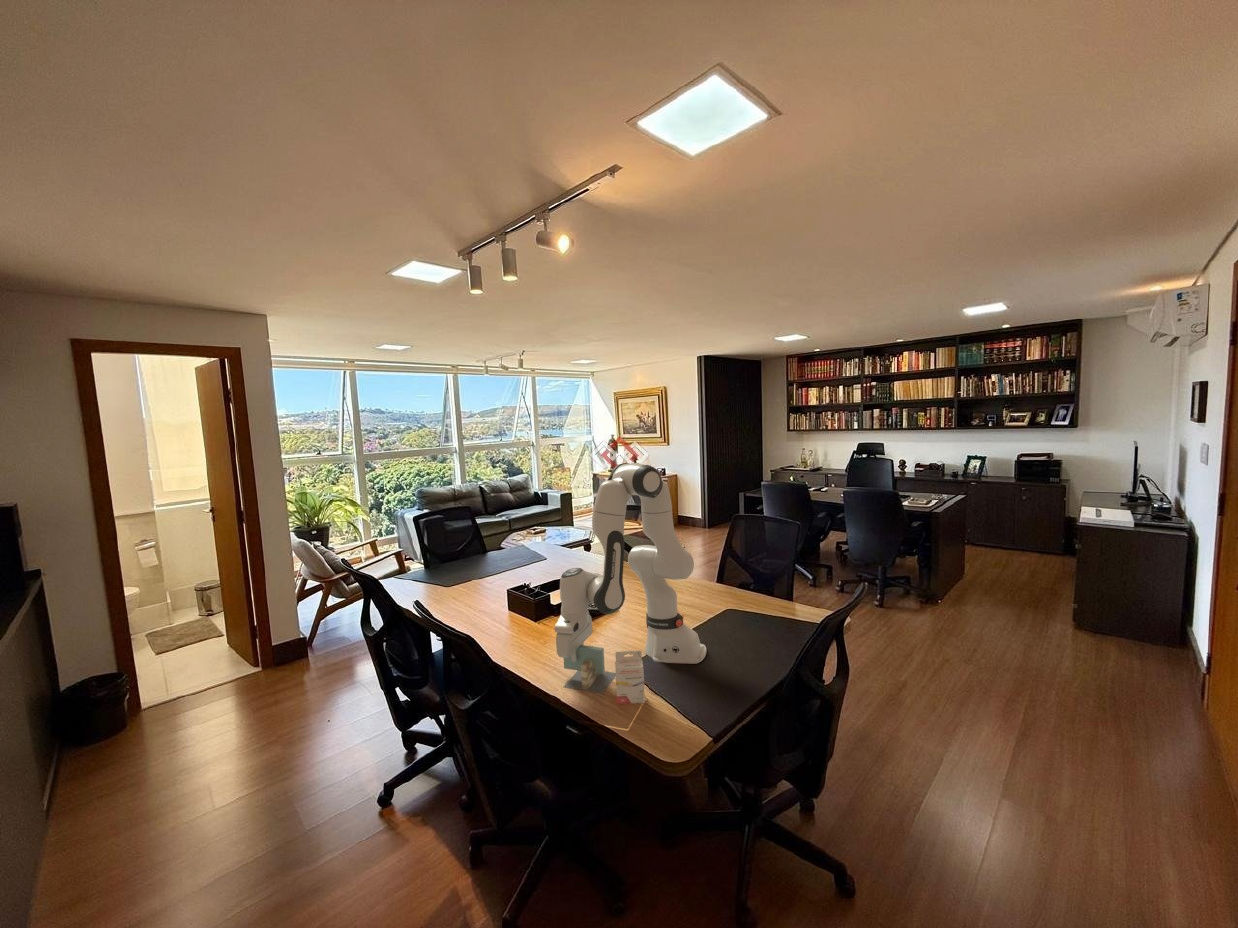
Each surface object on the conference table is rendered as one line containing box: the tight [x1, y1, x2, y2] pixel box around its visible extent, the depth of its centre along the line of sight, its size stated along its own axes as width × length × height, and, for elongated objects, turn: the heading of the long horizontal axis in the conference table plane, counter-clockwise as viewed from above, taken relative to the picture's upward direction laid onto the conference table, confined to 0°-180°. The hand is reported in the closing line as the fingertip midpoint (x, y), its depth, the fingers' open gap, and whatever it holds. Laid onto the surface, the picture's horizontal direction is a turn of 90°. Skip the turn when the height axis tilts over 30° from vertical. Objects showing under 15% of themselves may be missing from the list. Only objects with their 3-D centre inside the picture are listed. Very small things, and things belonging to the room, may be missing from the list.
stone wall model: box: [581, 659, 600, 691], centre depth 163 cm, size 12×2×8 cm, turn 159°
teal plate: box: [563, 644, 606, 674], centre depth 164 cm, size 14×2×8 cm, turn 69°
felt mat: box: [563, 670, 616, 695], centre depth 164 cm, size 14×13×1 cm
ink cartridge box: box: [614, 650, 646, 705], centre depth 151 cm, size 9×5×15 cm, turn 92°
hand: (577, 658), depth 164 cm, fingers closed on teal plate, 2 cm apart
